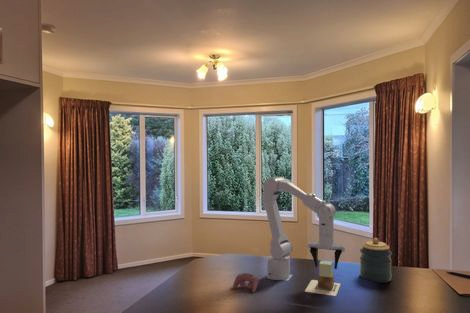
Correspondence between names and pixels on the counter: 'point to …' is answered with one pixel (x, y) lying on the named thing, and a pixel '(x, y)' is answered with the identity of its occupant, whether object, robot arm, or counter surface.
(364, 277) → the canister
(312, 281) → the cream square tray
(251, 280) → the video game controller
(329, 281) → the walnut block
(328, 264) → the sage block
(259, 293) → the counter surface
